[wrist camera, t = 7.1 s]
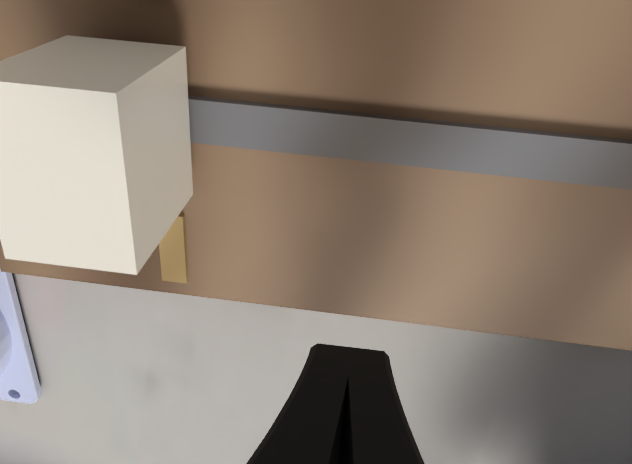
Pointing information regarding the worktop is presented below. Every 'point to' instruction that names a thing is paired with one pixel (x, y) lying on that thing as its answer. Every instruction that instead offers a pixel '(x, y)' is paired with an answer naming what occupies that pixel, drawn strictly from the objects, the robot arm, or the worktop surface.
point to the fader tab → (93, 151)
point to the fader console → (391, 157)
